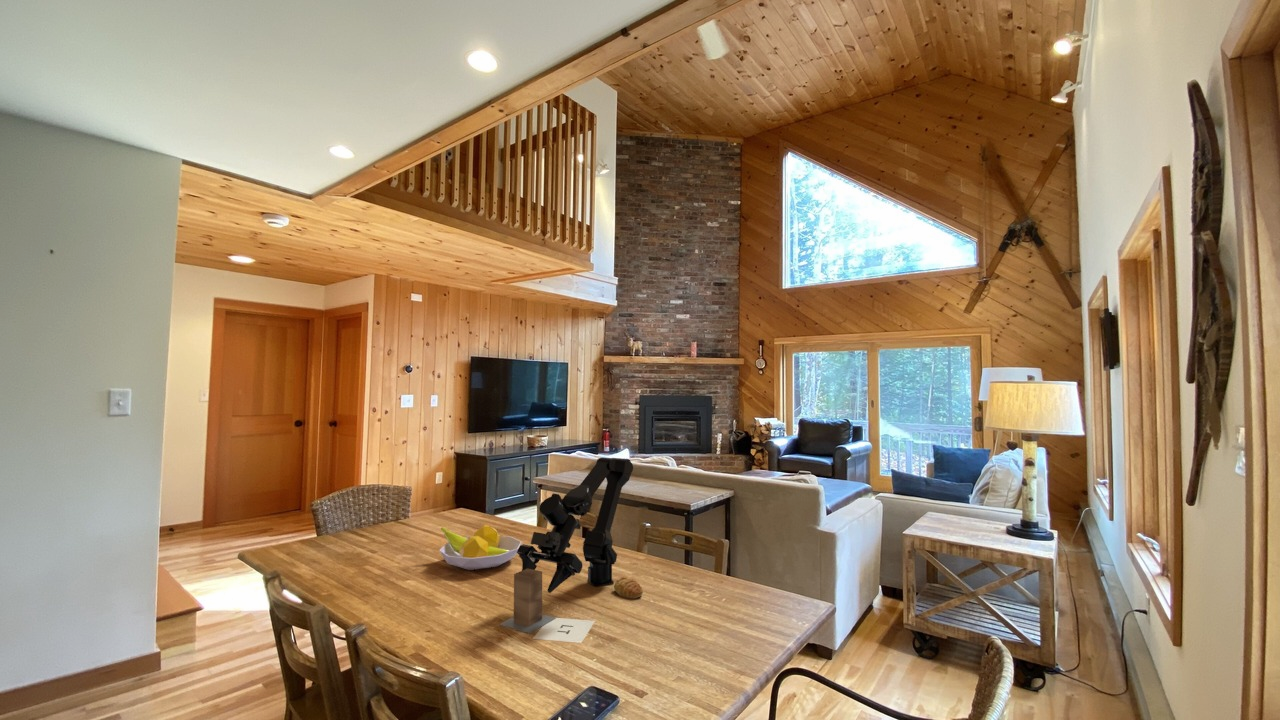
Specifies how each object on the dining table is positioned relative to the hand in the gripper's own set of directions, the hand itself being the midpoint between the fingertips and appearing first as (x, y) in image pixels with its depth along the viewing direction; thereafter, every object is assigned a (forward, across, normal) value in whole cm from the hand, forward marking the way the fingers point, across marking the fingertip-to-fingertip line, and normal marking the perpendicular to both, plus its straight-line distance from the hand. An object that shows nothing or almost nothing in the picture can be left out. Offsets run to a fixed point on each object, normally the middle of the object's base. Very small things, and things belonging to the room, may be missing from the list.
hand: (534, 588), depth 141 cm
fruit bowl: (-12, -46, +24) cm, 54 cm away
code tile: (+7, +11, +4) cm, 13 cm away
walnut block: (+7, 0, +3) cm, 8 cm away
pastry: (-13, +12, +26) cm, 31 cm away
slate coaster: (+7, 0, +4) cm, 8 cm away
